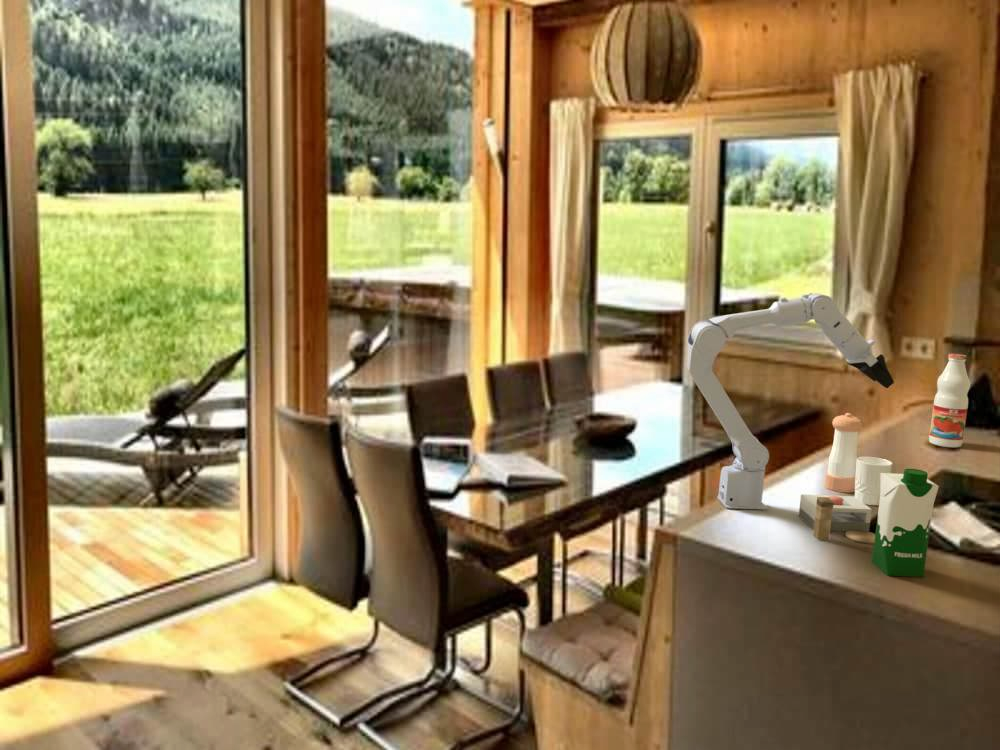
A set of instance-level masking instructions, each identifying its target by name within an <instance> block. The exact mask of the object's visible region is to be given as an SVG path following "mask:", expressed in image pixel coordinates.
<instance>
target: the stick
mask: <svg viewBox="0 0 1000 750" xmlns="http://www.w3.org/2000/svg"><path fill="white" fill-rule="evenodd" d="M833 504H834V503H833V500H832V499H830V498H829V497H817V506H816V514H815V523H814V529H813V530H812V531H813V533H812V536H813V538H815V539H816V540H817V541H830V532H831V530H830V526H831V518H832V509H833Z"/></svg>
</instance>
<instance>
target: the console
mask: <svg viewBox="0 0 1000 750" xmlns="http://www.w3.org/2000/svg"><path fill="white" fill-rule="evenodd" d="M830 496H831V494H830V495H828V494H827V495H826V494H825V495H824V494H800V501H799V509H798V517H799V518H800V519H802V521H804V522H805V523H806V524H807V525H808V526H809V527H810V528H812V530H814V523H815V514H816V506H817V497H830ZM836 496H837V497H841V498H843V505H833V509H832V518H831V526H830V531H836V532H837V531H838V532H839V531H840V532H841V531H842V532H847V531H851V530H860V531H866V532H870V527H871V518H872V512H873V511H872V508H871V507H869V506H868V505H867V504H864V503H862V502H861V501H860V500H858V499H857V498H855V495H853V496H852V495H836Z"/></svg>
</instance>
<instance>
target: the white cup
mask: <svg viewBox="0 0 1000 750" xmlns="http://www.w3.org/2000/svg"><path fill="white" fill-rule="evenodd" d="M892 468H893V462H892V461H890V460H887V459H884V458H883V457H882V458H881V457H875V456H866V455H865V456H859V457H858V456H857V459H856V473H855V491H854V497H855V498H857V499H858V500H860V501H861V502H862V503H864V504H865V505H867V506H868V505H869V506H879V502H880V477H881V475H880V473H892Z"/></svg>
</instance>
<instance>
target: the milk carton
mask: <svg viewBox="0 0 1000 750" xmlns="http://www.w3.org/2000/svg"><path fill="white" fill-rule="evenodd" d="M880 475H881V477H880V502H879V505H878V512H877V519H876V526H875V533H874V534H875V541H874V544H873V549H872V556H871V561H870V562H872V564H874V565H875V566H876V567H877V568H878V569H880V570H881V571H882V572H883V573H884V574H885V575H886V576H887V577H888V576H890V577H894V576H895V577H914V578H915V577H916V578H917V577H918V578H924V577H925V569H926V561H927V555H928V546H929V540H930V532H931V526H932V525H931V524H932V517H933V512H934V511H933V510H934V503H935V500H936V499H937V498H936V497H937V494H938V491H939V487H940V486H939V485H938V484H936V483H934V482H933V481H932V480H930V479H929V478H928V471H925V470H922V469H916V468H905V469H904V470H903V473H893V472H891V473H880Z"/></svg>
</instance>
